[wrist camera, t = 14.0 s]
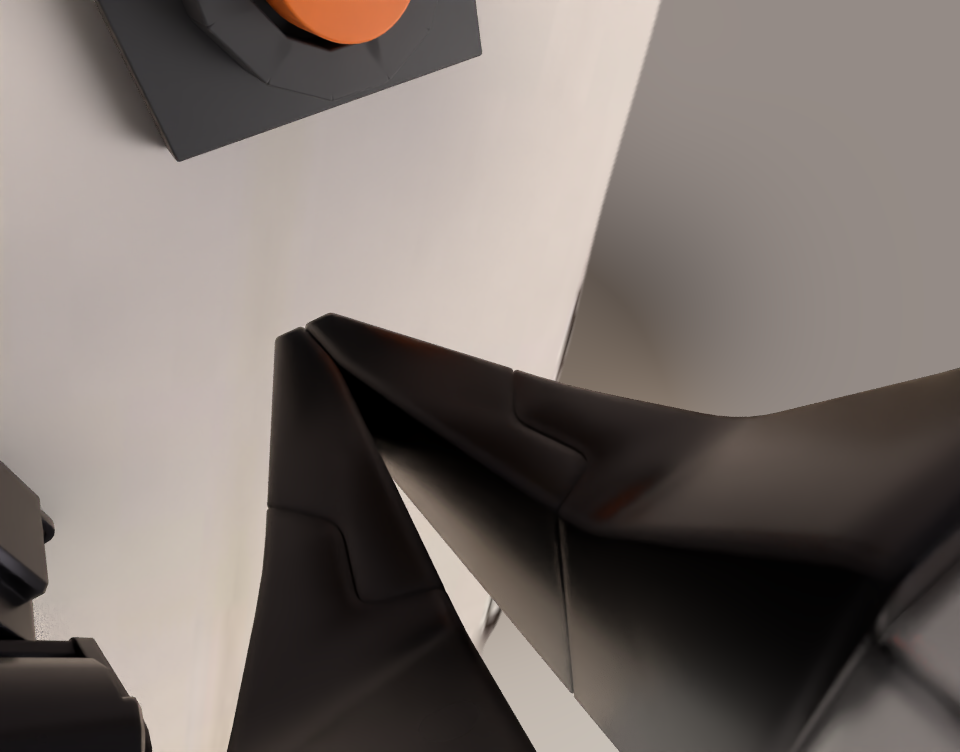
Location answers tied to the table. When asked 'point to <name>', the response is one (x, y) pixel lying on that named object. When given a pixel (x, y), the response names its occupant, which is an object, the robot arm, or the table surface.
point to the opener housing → (268, 63)
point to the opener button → (342, 17)
